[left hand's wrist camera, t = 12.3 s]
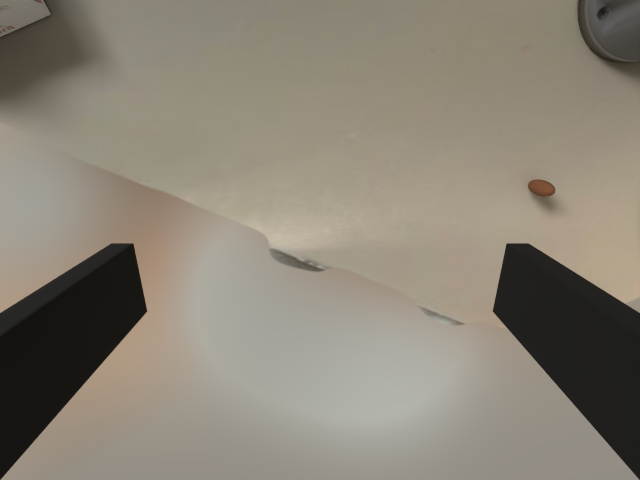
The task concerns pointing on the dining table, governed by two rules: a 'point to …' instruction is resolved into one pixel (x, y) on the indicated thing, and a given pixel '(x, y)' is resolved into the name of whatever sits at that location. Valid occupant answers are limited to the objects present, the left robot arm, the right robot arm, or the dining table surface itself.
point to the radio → (20, 14)
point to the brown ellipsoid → (541, 188)
